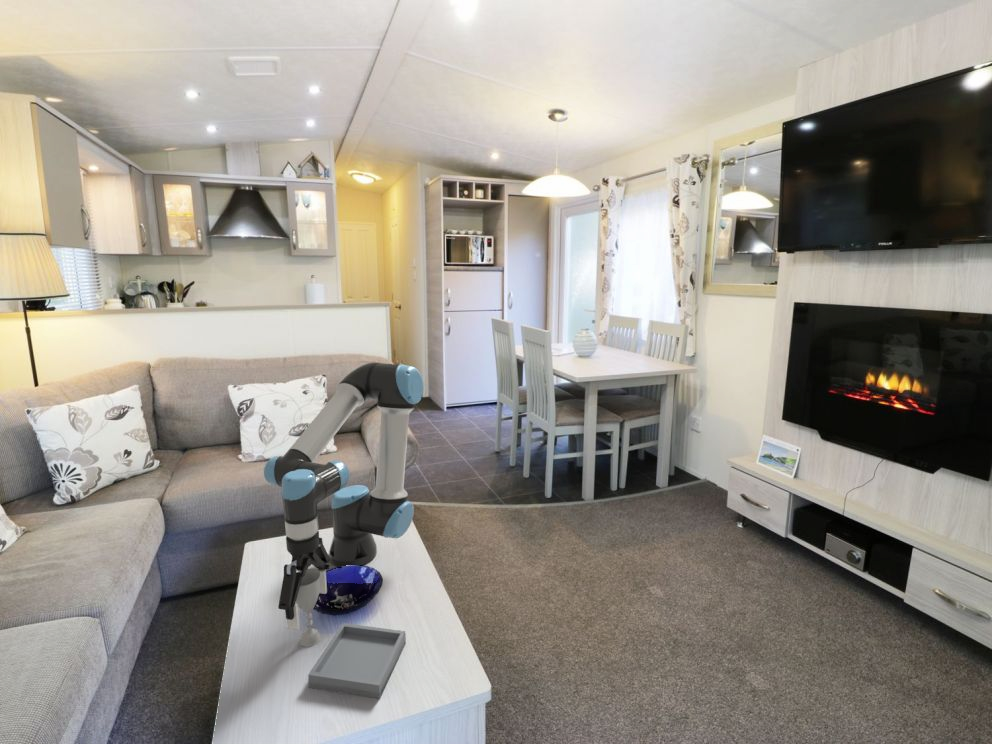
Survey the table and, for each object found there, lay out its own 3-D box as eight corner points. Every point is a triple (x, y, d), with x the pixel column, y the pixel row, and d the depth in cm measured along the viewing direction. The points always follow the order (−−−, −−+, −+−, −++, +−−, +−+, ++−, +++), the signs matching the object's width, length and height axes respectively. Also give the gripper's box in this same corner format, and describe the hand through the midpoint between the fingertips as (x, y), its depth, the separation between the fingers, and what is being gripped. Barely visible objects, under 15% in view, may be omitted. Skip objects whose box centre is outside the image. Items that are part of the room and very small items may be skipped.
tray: (343, 634, 131) (342, 623, 130) (405, 643, 128) (405, 631, 127) (309, 687, 114) (308, 674, 114) (380, 698, 112) (379, 685, 111)
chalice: (314, 652, 125) (309, 587, 121) (290, 647, 126) (284, 584, 122) (330, 631, 132) (325, 570, 128) (306, 627, 133) (301, 566, 129)
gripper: (314, 508, 135) (319, 578, 140) (256, 560, 111) (264, 643, 116) (340, 510, 134) (344, 581, 139) (287, 563, 110) (294, 647, 114)
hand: (308, 609), depth 127 cm, fingers open, 13 cm apart
